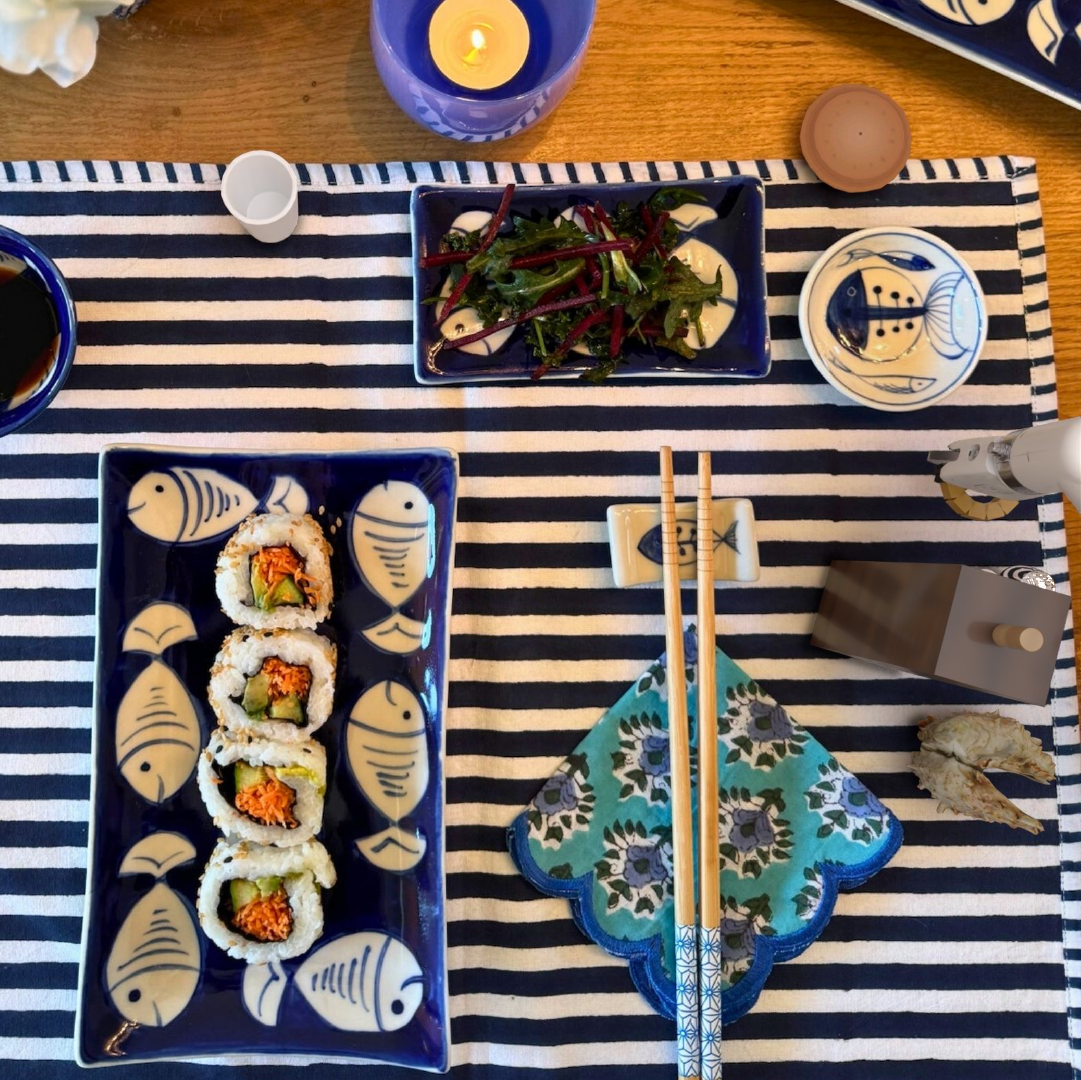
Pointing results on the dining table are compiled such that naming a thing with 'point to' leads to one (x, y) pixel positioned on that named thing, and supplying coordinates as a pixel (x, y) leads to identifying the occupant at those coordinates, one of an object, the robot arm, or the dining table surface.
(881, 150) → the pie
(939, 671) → the peg stand
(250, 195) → the cup
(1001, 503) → the ring
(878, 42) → the dining table surface
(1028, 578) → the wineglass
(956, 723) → the seashell
